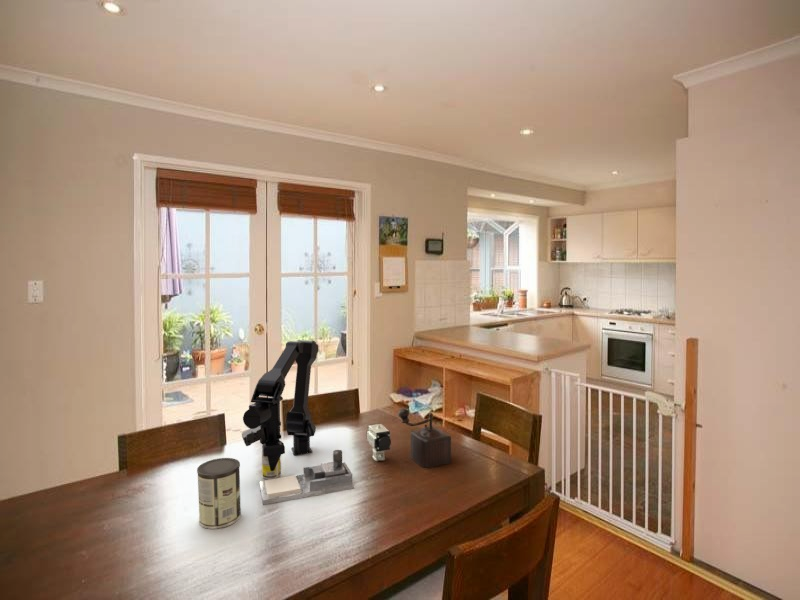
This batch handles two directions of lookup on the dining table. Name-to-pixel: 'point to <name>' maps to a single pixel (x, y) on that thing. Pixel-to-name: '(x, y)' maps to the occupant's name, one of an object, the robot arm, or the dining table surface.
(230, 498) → the coffee can
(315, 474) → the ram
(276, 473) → the supplement bottle
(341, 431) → the dining table surface
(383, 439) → the pneumatic valve
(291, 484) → the plate
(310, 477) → the press base
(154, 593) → the dining table surface
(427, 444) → the pepper mill
